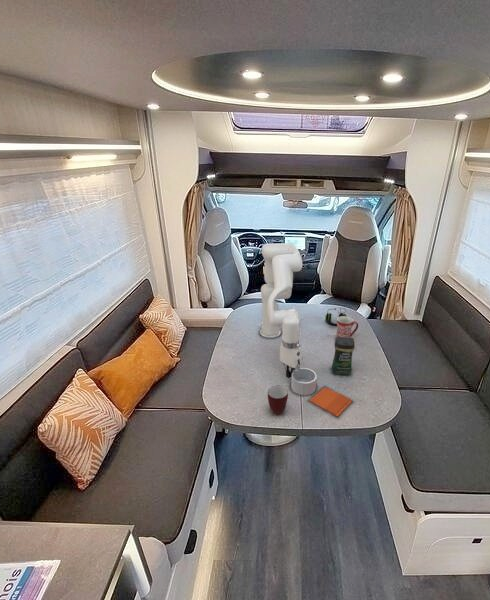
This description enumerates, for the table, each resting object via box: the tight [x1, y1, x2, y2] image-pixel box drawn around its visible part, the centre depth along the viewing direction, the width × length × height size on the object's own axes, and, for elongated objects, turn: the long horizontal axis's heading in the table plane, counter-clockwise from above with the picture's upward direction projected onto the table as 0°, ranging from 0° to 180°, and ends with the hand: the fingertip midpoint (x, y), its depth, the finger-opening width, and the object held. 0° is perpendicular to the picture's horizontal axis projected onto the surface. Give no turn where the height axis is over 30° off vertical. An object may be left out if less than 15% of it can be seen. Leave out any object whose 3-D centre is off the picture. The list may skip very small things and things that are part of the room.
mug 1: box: [267, 384, 289, 416], centre depth 127 cm, size 11×8×10 cm
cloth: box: [309, 386, 353, 418], centre depth 135 cm, size 14×12×1 cm
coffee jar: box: [331, 336, 356, 376], centre depth 151 cm, size 10×8×19 cm
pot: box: [290, 367, 318, 396], centre depth 142 cm, size 11×11×6 cm
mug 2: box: [336, 315, 359, 338], centre depth 180 cm, size 13×9×14 cm
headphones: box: [324, 307, 348, 328], centre depth 202 cm, size 16×10×20 cm
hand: (289, 376), depth 147 cm, fingers closed
